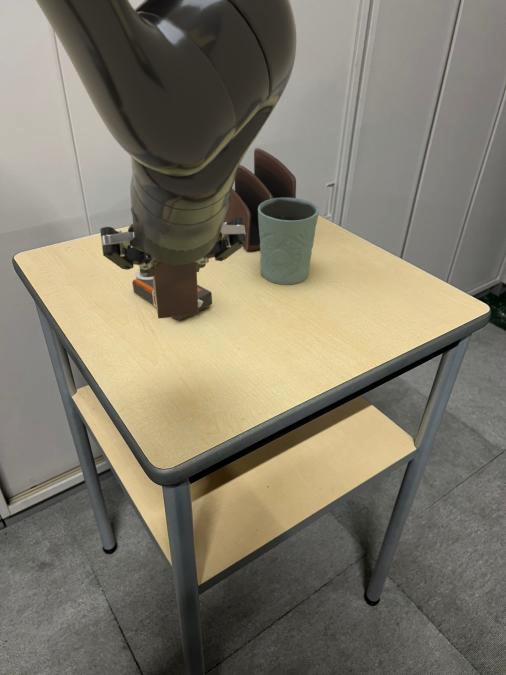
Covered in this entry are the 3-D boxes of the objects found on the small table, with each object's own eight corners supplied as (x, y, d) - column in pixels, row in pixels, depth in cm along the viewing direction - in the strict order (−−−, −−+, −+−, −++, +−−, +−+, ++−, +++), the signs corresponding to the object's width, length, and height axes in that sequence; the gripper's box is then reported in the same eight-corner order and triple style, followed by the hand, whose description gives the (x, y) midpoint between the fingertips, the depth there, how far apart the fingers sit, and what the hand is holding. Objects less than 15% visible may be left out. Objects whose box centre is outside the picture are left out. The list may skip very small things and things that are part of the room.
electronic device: (156, 261, 89) (212, 290, 80) (158, 276, 91) (213, 307, 82) (122, 274, 85) (178, 307, 77) (125, 289, 87) (180, 323, 78)
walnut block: (158, 318, 56) (152, 252, 52) (154, 297, 60) (148, 234, 55) (198, 314, 57) (195, 249, 52) (192, 294, 61) (189, 230, 56)
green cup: (273, 291, 87) (277, 225, 79) (245, 265, 94) (246, 202, 87) (323, 278, 91) (331, 213, 83) (293, 254, 98) (297, 192, 91)
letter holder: (256, 206, 116) (258, 142, 107) (294, 244, 101) (300, 173, 92) (214, 212, 112) (212, 146, 104) (247, 252, 98) (248, 179, 89)
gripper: (259, 155, 43) (229, 229, 60) (81, 164, 40) (101, 239, 57) (273, 241, 42) (238, 292, 59) (91, 257, 39) (109, 305, 56)
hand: (171, 265), depth 58 cm, fingers closed on walnut block, 4 cm apart
